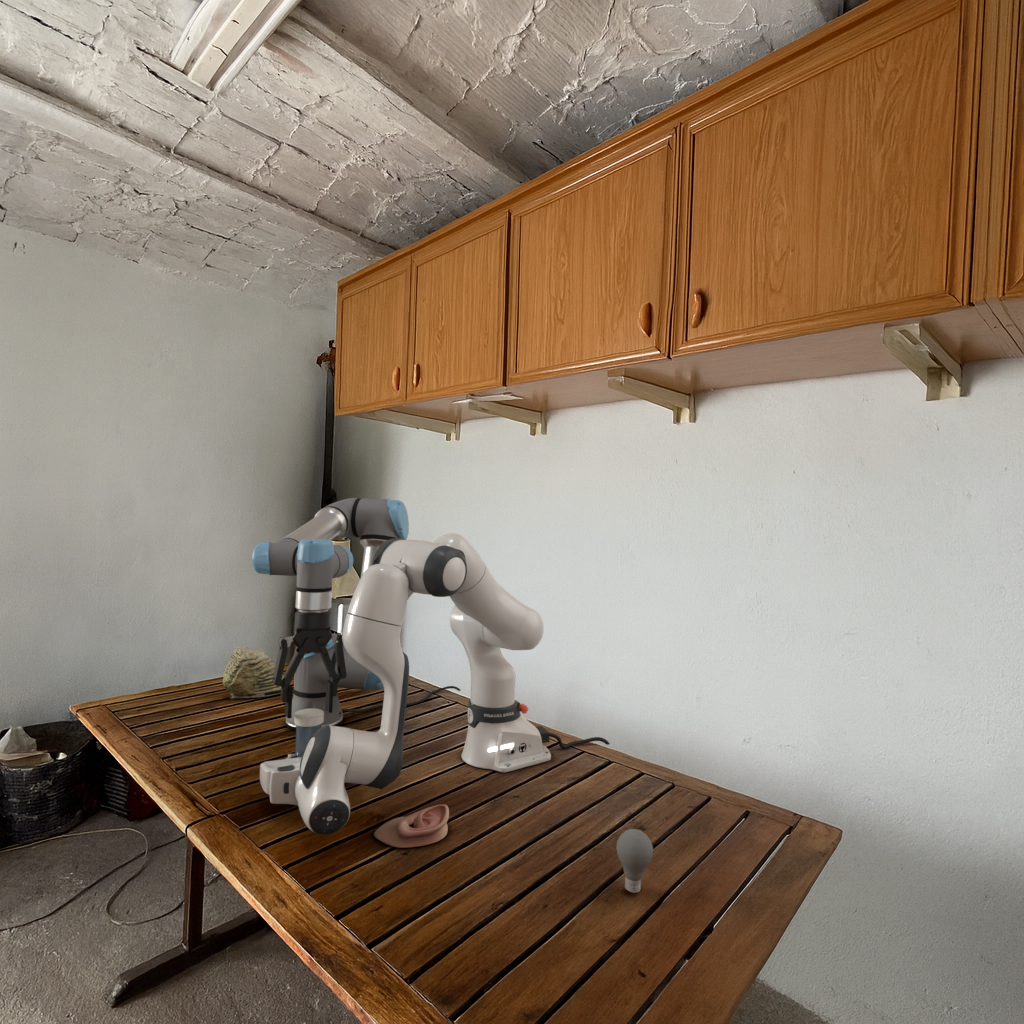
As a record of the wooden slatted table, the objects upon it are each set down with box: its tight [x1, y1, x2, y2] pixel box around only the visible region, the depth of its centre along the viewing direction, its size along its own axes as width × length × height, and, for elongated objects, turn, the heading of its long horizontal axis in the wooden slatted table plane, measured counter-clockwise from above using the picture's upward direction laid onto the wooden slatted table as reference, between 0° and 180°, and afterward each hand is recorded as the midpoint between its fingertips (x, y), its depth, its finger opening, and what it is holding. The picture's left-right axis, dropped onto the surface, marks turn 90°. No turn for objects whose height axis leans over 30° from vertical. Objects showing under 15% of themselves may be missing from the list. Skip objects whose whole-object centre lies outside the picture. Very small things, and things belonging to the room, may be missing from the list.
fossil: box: [222, 646, 284, 699], centre depth 198 cm, size 9×18×15 cm, turn 132°
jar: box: [294, 724, 321, 758], centre depth 139 cm, size 5×5×15 cm
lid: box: [294, 708, 324, 727], centre depth 139 cm, size 6×6×2 cm
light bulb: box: [615, 828, 654, 894], centre depth 106 cm, size 6×6×10 cm
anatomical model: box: [373, 803, 450, 849], centre depth 121 cm, size 13×4×12 cm
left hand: (308, 713), depth 138 cm, fingers open, 8 cm apart
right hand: (306, 755), depth 140 cm, fingers closed on jar, 5 cm apart
